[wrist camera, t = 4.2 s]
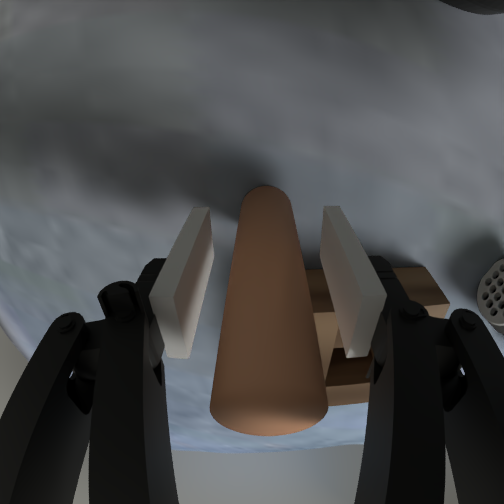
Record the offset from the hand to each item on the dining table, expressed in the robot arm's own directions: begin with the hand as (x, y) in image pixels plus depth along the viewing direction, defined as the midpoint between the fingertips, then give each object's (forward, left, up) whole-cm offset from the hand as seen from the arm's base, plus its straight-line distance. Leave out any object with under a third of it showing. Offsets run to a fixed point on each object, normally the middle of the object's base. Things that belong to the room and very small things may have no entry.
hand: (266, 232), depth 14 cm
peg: (0, 0, -3) cm, 3 cm away
